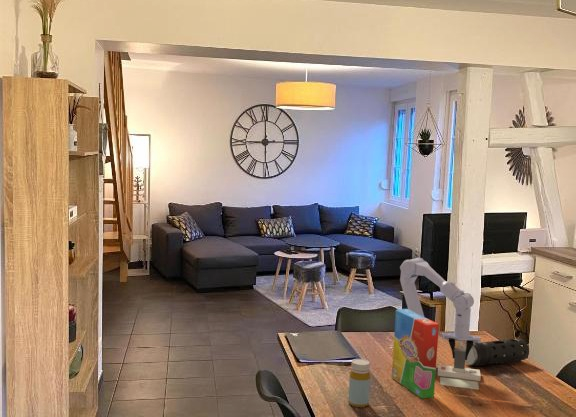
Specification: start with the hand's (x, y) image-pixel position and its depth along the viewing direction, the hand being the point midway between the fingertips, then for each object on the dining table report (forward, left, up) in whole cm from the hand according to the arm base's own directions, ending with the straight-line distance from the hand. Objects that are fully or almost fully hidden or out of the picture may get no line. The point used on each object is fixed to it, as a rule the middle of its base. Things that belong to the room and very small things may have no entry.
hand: (459, 358), depth 238 cm
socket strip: (0, 0, -7) cm, 7 cm away
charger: (0, 0, -3) cm, 3 cm away
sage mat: (0, -9, -7) cm, 12 cm away
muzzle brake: (+15, +20, -8) cm, 26 cm away
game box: (-17, -18, -8) cm, 26 cm away
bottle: (-34, -40, -8) cm, 53 cm away
